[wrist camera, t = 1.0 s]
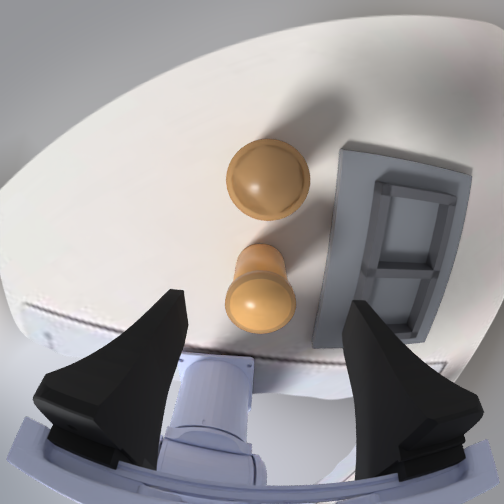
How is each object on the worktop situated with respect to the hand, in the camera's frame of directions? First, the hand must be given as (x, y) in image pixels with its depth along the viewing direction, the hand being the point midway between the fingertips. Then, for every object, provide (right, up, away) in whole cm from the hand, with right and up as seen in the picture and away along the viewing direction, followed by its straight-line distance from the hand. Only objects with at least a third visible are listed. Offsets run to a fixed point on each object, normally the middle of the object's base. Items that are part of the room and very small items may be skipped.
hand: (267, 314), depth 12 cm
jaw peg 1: (0, +9, +9) cm, 13 cm away
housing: (+12, +2, +12) cm, 17 cm away
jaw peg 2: (0, +1, +12) cm, 12 cm away
